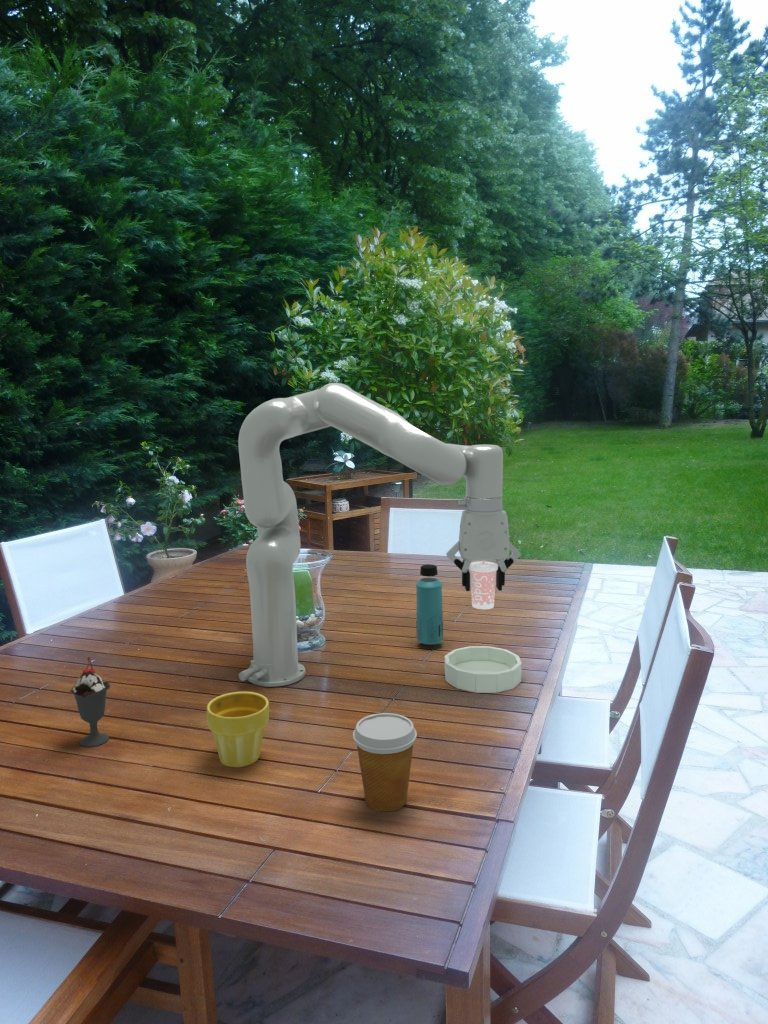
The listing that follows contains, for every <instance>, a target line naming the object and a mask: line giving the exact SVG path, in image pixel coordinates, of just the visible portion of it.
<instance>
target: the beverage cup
mask: <svg viewBox="0 0 768 1024" xmlns="http://www.w3.org/2000/svg"><path fill="white" fill-rule="evenodd" d="M468 569H469V572H470V591H471V592H470V593H471V607H472V608H474V609H477V610H491V609H493V608H494V607H495V596H496V594H495V592H496V571H497V570H498V563H497V562H492V561H471V564H470V566H469V568H468Z"/></svg>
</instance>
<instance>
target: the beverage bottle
mask: <svg viewBox="0 0 768 1024" xmlns="http://www.w3.org/2000/svg"><path fill="white" fill-rule="evenodd" d="M419 575H420V576H422V577H423V578H421V579H419V580H418V581H417V582H416V584H415V586H416V587H415V588H416V589H415V591H416V596H415V597H416V605H415V608H416V612H415V615H416V625H415V627H416V634H415V635H416V639H417V642H419V644H423V645H437V644H440V643H442V642H443V639H444V620H443V619H444V616H443V615H444V612H443V601H444V600H443V583H442V581H441V580H439V579H438V578H435V576H437V575H438V567H437V565H436V564H423V565H421V566H420V571H419Z"/></svg>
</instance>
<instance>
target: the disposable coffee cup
mask: <svg viewBox="0 0 768 1024" xmlns="http://www.w3.org/2000/svg"><path fill="white" fill-rule="evenodd" d="M417 735H418V732H417V730H416V728H415V725H414V723H413V721H412V720H411V719H410V718H408V717H406V716H404V715H401V714H398V713H392V712H389V713H388V712H382V713H381V712H380V713H373V714H370V715H367V716H364V717H362V718H361V719H359V720H358V721H357V723H356V725H355V728H354V730H353V732H352V737H353V740H354V743H355V745H356V750H357V755H358V762H359V767H360V774H361V781H362V786H363V792H364V793H363V794H364V800H365V804H366V805H367V807H369V808H371V809H372V810H375V811H378V812H393V811H397V810H400V809H402V808H403V807H404V806H405V805H406V803H407V801H408V792H409V782H410V775H411V768H412V767H411V766H412V758H413V750H414V744H415V741H416V740H417Z"/></svg>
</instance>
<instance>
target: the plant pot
mask: <svg viewBox="0 0 768 1024" xmlns="http://www.w3.org/2000/svg"><path fill="white" fill-rule="evenodd" d="M269 720H270V702H269V699H268V698H267V697H266V696H264V695H263V694H261V693H258V692H253V691H235V692H227V693H224V694H221V695H218V696H216V697H215V698H213V699H211V700H210V701H209V702H208V703H207V705H206V724H207V727H208V730H210V731H211V732H212V735H213V739H214V743H215V747H216V749H217V750H216V751H217V753H218V754H217V755H218V758H219V761H220V762H221V764H222V765H223V766H227V767H229V768H230V767H231V768H242V767H247V766H249V765H253V764H254V763H256V762H257V761H258V760H259V758H260V756H261V749H262V743H263V740H264V739H263V737H264V733H265V727H266V726H267V725H268V723H269V722H270V721H269Z"/></svg>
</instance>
